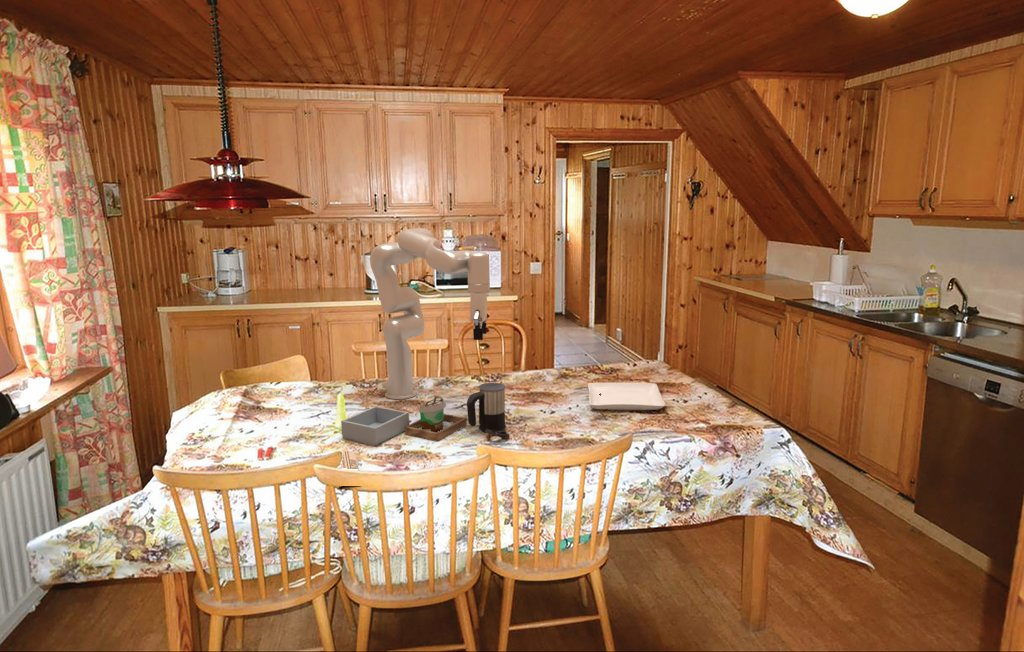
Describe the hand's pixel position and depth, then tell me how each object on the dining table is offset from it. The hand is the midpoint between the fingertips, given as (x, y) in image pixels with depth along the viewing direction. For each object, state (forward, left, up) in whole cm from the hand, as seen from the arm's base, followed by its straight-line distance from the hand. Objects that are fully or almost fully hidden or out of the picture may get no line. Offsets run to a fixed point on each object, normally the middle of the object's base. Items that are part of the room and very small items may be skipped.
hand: (480, 336), depth 220 cm
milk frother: (+13, -13, -29) cm, 34 cm away
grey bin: (-21, -32, -29) cm, 48 cm away
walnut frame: (-6, -20, -29) cm, 35 cm away
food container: (-6, -20, -29) cm, 36 cm away
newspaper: (-9, -57, -30) cm, 65 cm away
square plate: (+40, +37, -29) cm, 62 cm away
